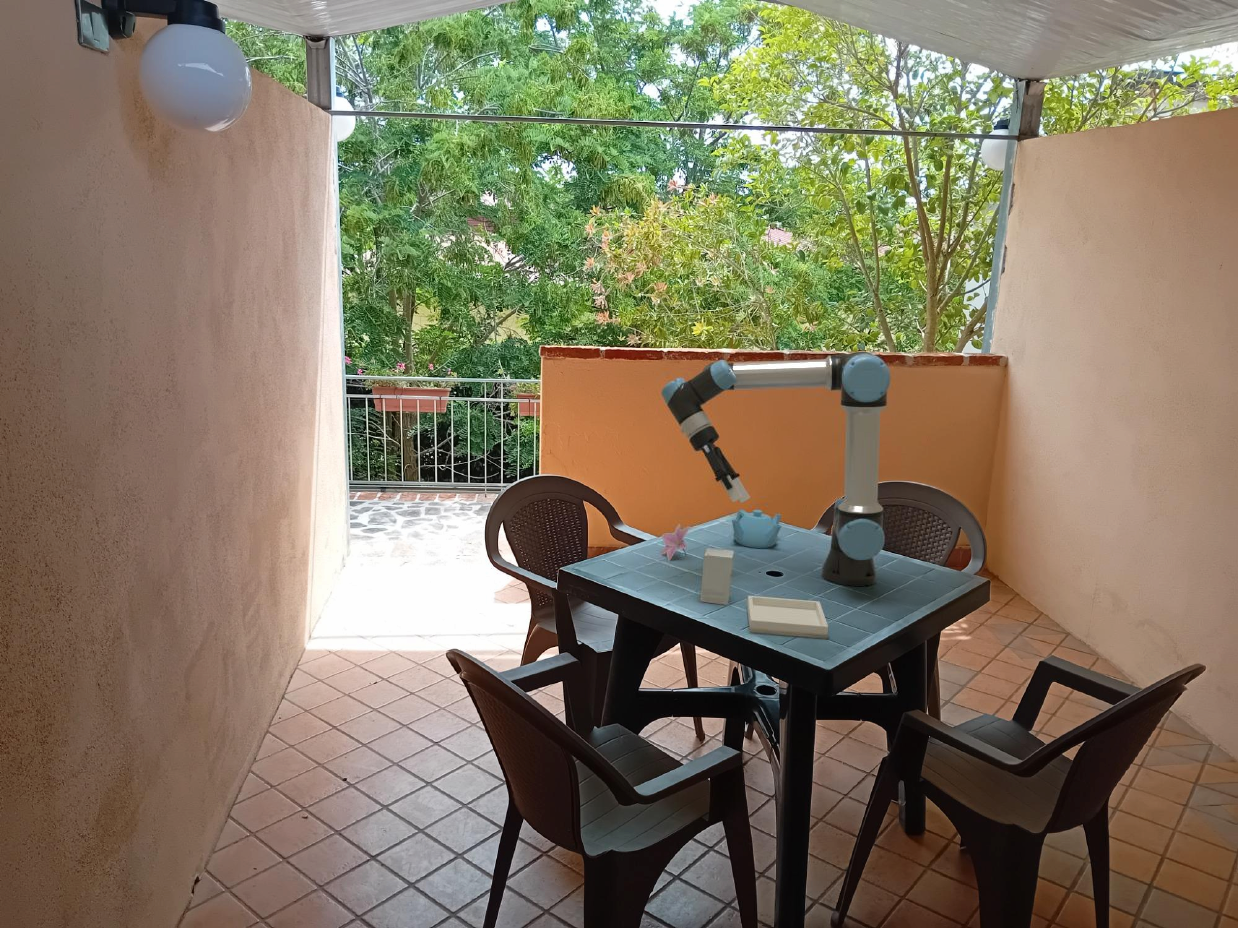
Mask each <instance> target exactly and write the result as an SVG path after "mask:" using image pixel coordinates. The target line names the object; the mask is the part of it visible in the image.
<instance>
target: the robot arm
mask: <svg viewBox="0 0 1238 928" xmlns="http://www.w3.org/2000/svg"><path fill="white" fill-rule="evenodd" d="M890 372H891V371H890V369H889V367H888V366H887V364H886V362H885V361H884V360H883V359H882V358H881V357H879V356H877V355H875V354H872V353H870V352H866V351H855V352H850V353H843V354H836V355H835V354H832V355H831V354H830V355H828V356H827V357H826V358H825V359H822V358H821V359H799V360H774V361H773V360H772V361H770V360H769V361H748V362H730V363H729V362H726V360H724V359H720V360H718V361H716V362H710V363H708V364H707V365H706V366H705V367H704V368H703V369H702V371H701V372H700V373H698V374H697V375H695V376H694V377H692V378H691V379H689V380H687V381H686V380H685V378H683V377H677V378H675V379H674V380H672V381H670V382H668V383H667V384H666V385H665V386H664V387H662V389H661V396H662V398H663V400H664V402H665V403H666V406H667V407H668V409H669V411H670V413H671V414H672V415H673V417H674V418H675V420H676V422H677V423H678V424H679V426H680V428H681V430H680V433H682V434H685V437H686V438H688V439H689V443H690V444H691V446H692V448H693V450H694V451H695V452H700V451H701V452H703V454H704V456H705V458H706V460H707V462H708V464H709V466H710V468H711V470H712V472H713V473H714V476H715V478H714V479H715V481H716V482H720V483H721V485H722V487H723V489H724V490H725V492H726V494H727V495H728V497H729V499H730V500H731V501H732V503H735V502H737V501H738V500H739V502H741V504H743V503H744V502H746V501H748V500H750V499H751V496H750V495H749V492H748V491H747V490H746V488H745V486H744V485H743V482H741V480H740V478H739V477H741V475H740V473H739V472H736V471H735V469H734V468H733V467H732V465H731V464H730V463H729V461H728V459H727V458H726V456H725V455H724V454H723V452H722V449H721V448H720V446H716V445H715V444H714V443H715V442H716V441H718V440H719V438H720V435H719V433H718V431H717V430H716V428H715V427H714V426H713V425H712V421H711V419H710V418H709V416H708V415H707V413H706V411H705V410H704V409H703V408H702V406H703V405H705V404H706V403H708V402H709V401H711V400H712V399H714V398H715V397H717V396H718V395H720V394H722V393H723V392H725V391H734V390H736V391H737V390H739V391H740V390H764V389H767V390H768V389H772V390H773V389H801V388H803V389H805V388H826V389H827V390H829V391H840V406H841V408H842V409H843V410H844V411H845V412H846V417H845V419H846V422H845V426H846V428H845V454H844V455H845V458H844V459H845V460H844V464H845V465H844V494H843V495H844V498H842V497H841V498H838V499H836V500H835V502H834V507H833V510H834V511H833V512H834V513H833V521H832V522H833V523H832V531H831V540H830V549H829V552H828V554H827V556H826V558H825V560H824V563H823V565H822V568H821V577H822V578H823V579H824V580H826V581H829V582H832V583H835V584H839V585H843V586H848V587H849V586H850V587H851V586H852V587H866V586H865V585H868V586H872V585H874V584H876V582H877V571H876V566H875V561H874V557H876V556H877V555H878V554H879V553H880V552H881V551H882V550H883V548H884V545H885V540H886V539H885V538H886V535H885V532H884V529H883V526H884V525H883V524H884V522H883V521H884V507H883V506H882V505H881V504H880V503H879V502H878V498H879V497H878V496H879V468H880V467H879V466H880V465H879V463H880V462H879V461H880V460H879V459H880V438H881V437H880V434H881V431H880V429H881V412H882V411H883V410H884V409H886V407H887V405H888V402H887V401H888V389H889V387H890V383H891V373H890ZM871 584H872V585H871Z"/></svg>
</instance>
